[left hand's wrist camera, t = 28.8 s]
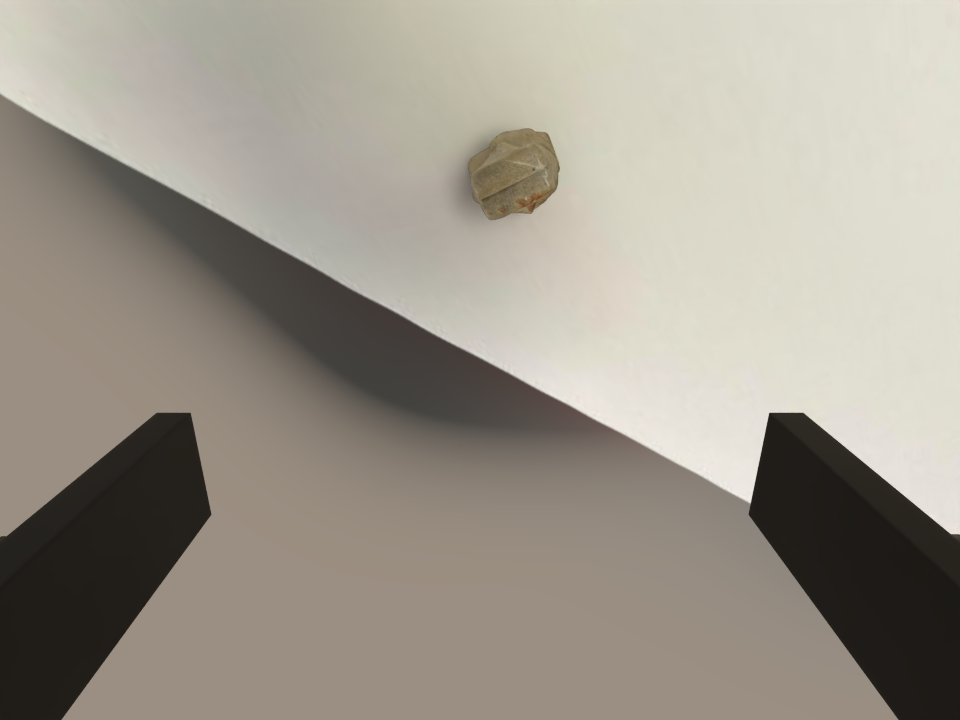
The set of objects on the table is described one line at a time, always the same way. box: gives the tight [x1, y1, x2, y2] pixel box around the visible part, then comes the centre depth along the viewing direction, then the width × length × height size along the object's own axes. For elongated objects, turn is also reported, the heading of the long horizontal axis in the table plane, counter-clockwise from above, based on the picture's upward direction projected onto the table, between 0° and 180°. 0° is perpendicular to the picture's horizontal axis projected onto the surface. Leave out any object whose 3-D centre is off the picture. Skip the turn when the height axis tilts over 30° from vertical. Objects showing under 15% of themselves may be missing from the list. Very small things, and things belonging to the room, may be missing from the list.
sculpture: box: [469, 129, 560, 220], centre depth 42 cm, size 6×7×15 cm
